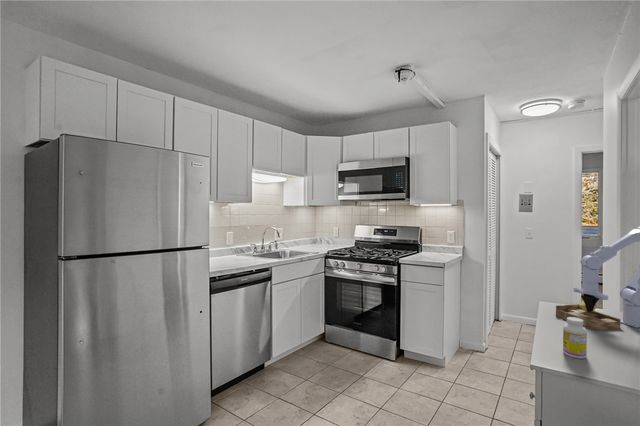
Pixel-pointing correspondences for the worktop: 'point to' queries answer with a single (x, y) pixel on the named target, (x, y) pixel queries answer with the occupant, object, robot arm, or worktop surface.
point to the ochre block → (585, 306)
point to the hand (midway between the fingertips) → (589, 311)
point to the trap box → (588, 317)
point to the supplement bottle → (575, 338)
